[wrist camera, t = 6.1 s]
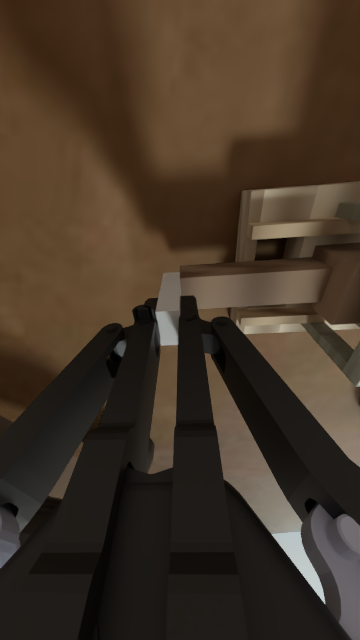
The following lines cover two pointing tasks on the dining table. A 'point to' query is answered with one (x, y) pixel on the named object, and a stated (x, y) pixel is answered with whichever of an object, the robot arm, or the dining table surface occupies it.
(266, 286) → the tan wooden bar
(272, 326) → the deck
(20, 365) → the dining table surface
